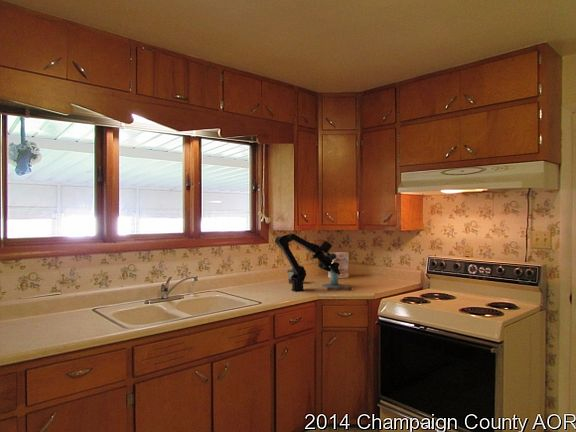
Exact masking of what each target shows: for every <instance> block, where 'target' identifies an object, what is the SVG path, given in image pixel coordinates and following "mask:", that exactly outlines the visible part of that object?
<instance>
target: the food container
mask: <svg viewBox="0 0 576 432" xmlns="http://www.w3.org/2000/svg"><path fill="white" fill-rule="evenodd" d="M286 273H287V279H288V284H289V285H292V281H293V280H291V276H292V275H293V274H294V273H293V268H289V269H287V271H286Z"/></svg>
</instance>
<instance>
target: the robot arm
mask: <svg viewBox="0 0 576 432" xmlns="http://www.w3.org/2000/svg"><path fill="white" fill-rule="evenodd" d="M292 241H293V242H294V243H297V244H298V245H301V246H302V247H304V248H305V250H307V251H308V252H309V253H313V254H312V259H317V260H318V264H317V266H318V268H319V269H321V270H323V271H327V272H330V271H331V270H332V271H333V272H335V273H337V274H339V275H340V272H339V269H338V267H339V265H340V264H339V263H338V262H333V261H332V260H334V259H335V258H337V257H336V255H335V253H336V252H330V250H331V249H332V247H333V245H332V244H331V243H330V242H328V241H327V240H324V241H323V242H322V243H321V244H320V245H318V244H316V243H313V242H309V241H307V240H305V239H304V238H302V237H300V236H298V235H297V234H296V233H289V234H285V235H281V236H276V238H275V240H274V243H275V245H276V246H277V247H278V248H279V249H280V250H281V251H282V252H283V254H284V256H285V257H286V259H287V260H288V263H289V264H290V266H291V269H293V273H294V274H293V275H292V276H291V280H293V281H292V284H291V287H292V288H291V291H294V292H305V290H304V282H305V278H306V277H307V271H306V269H305V267H304V266H303V265H300V264H299V262H298V261H297V259H296V257H295V256H294V254H293V252H292V250H291V249H290V245H289V244H290V243H291V242H292ZM331 262H333V263H331ZM329 266H330V267H329Z"/></svg>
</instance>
